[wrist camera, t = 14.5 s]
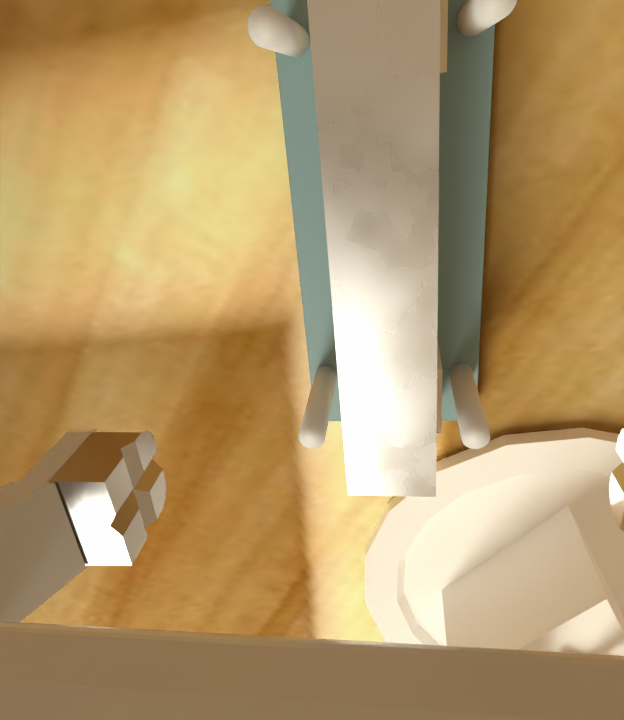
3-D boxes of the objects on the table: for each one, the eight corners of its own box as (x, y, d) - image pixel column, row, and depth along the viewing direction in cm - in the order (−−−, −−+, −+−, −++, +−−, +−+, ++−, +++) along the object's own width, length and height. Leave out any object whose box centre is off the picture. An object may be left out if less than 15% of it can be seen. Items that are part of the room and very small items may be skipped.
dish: (295, 575, 40) (262, 738, 30) (571, 345, 29) (663, 481, 19) (532, 731, 44) (572, 919, 34) (846, 582, 34) (1038, 792, 24)
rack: (472, 406, 31) (493, 492, 24) (318, 407, 33) (298, 489, 26) (493, -68, 21) (537, -137, 15) (272, -36, 23) (223, -86, 16)
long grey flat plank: (431, 450, 27) (436, 496, 24) (353, 450, 28) (347, 495, 25) (433, -94, 18) (441, -133, 15) (314, -76, 18) (298, -109, 15)
